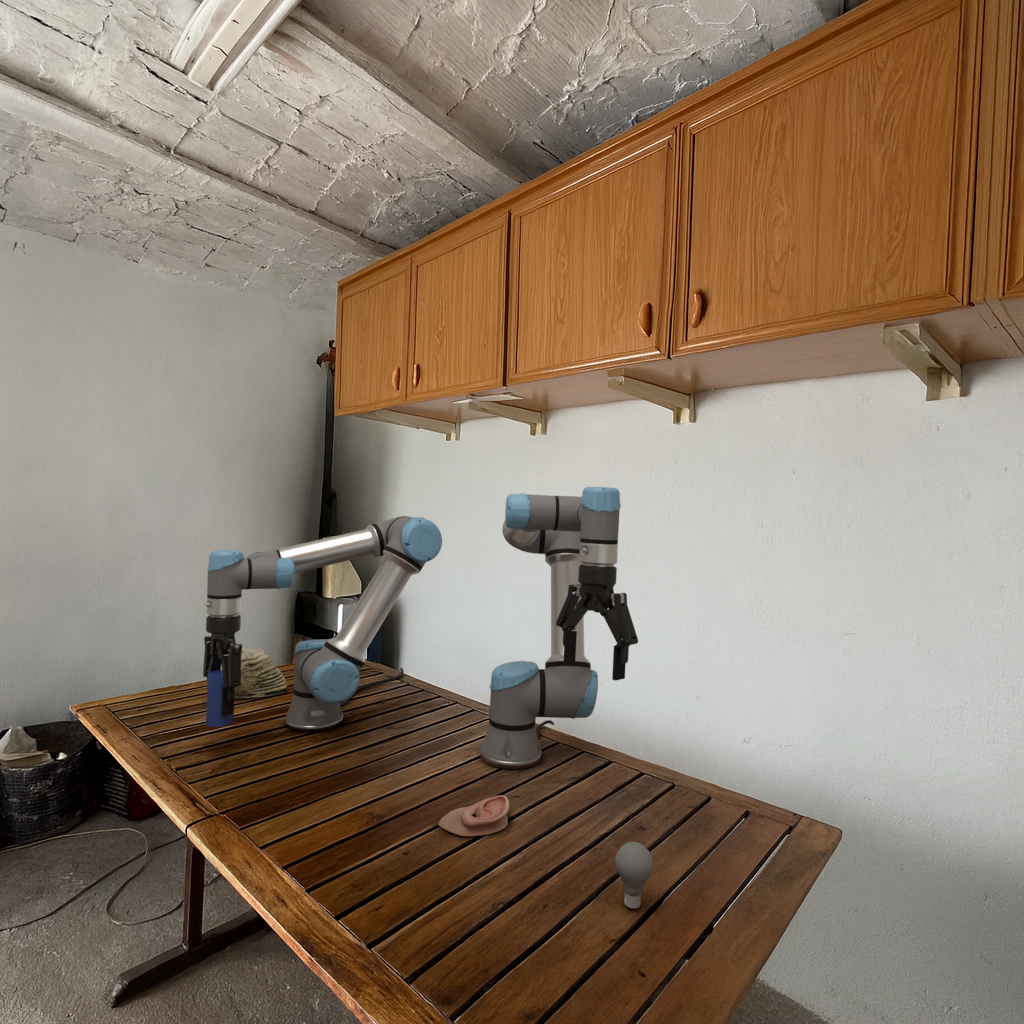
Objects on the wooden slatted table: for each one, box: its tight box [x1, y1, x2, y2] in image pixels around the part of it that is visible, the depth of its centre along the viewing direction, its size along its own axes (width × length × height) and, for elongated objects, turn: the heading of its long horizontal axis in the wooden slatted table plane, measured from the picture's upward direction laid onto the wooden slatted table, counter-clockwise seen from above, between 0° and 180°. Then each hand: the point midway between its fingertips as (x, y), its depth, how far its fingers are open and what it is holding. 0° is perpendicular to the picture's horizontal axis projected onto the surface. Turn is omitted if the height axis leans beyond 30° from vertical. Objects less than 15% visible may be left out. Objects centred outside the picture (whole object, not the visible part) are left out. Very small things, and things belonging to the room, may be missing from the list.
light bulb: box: [614, 841, 654, 909], centre depth 101 cm, size 6×6×10 cm
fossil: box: [234, 646, 288, 699], centre depth 198 cm, size 9×18×15 cm, turn 132°
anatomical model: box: [437, 794, 510, 837], centre depth 126 cm, size 13×4×12 cm
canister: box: [205, 669, 234, 728], centre depth 151 cm, size 6×6×12 cm
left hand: (220, 711), depth 151 cm, fingers closed on canister, 6 cm apart
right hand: (592, 670), depth 126 cm, fingers open, 13 cm apart
